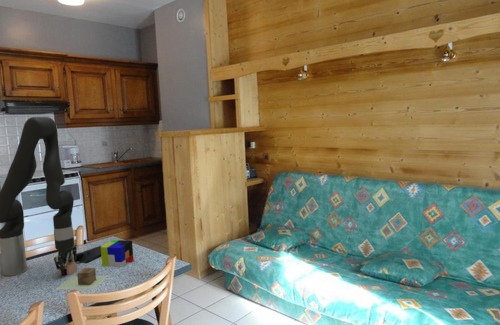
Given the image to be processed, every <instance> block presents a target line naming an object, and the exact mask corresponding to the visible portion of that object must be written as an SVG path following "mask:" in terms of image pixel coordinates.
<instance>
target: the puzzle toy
mask: <svg viewBox="0 0 500 325" xmlns="http://www.w3.org/2000/svg"><path fill="white" fill-rule="evenodd" d="M133 247H134V246H133V240H129V239H128V240H127V239H125V240H122V239H113V240H111V241H109V242H107V243H106V244H103V245H102V247H101V256H100V257H101V266H102V267H124V266H125V265H126V264H128V263H133V262H134V261H135V260H134V249H133Z"/></svg>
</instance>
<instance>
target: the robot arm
mask: <svg viewBox="0 0 500 325" xmlns="http://www.w3.org/2000/svg"><path fill="white" fill-rule="evenodd" d="M57 128H58V127H57V124H56V121H55V120H54V119H52V118H51V117H48V116H33V117H29V118H28V119H27V120H26V121H25V123H24V125H23V128H22V130H21V135H20V140H19V143H18V146H17V149H16V151H15V154H14V157H13V159H12V162H11V164H10V166H9V168H8V172H7V175H6V177H5V180H4V183H3V184H2V187H1V189H0V224H4V225H3V226H2V227H1V229H0V275H1V276H2V275H3V276H6V277H12V276H17V275H21V274H23V273H25V272H26V271H28V265H27V264H28V263H27V254H26V247H25V238H24V237H25V236H24V228H25V216H24V215H25V214H24V213H25V212H24V207H23V204H22V203H21V201H20V200H18V199H17V197H18V196H19V195H20V194H21V192H22V191H24V190H25V189H26V187H27V186H28V185H29V184H30V182H31V181H32V179H34V178H33V177H34V176H35V172H36V170H37V159H36V154H35V152H36V151H35V150H36V149H37V145H38V143H39V141H40V140H43V143H44V147H45V148H44V151H45V152H44V153H45V154H44V158H43V163H42V170H43V171H42V172H43V175H44V179H45V183H46V189H45V190H46V191H45V192H46V193H45V201H46V204H47V206H48V207H49V208H50V209H51V210H58V211H57V213H55V214H54V215H53V216H52V224H53V236H54V237H53V238H54V245H55V246H54V248H55V249H56V250H57V252H58V253H57V256H54V257H53V261H54V265H55V268H56V270H58V269H60V270H61V275H60V276H61V277H66V276H68V275H67V269H66V265H67V263H68V262H74V260H76V254H77V246H76V244H75V236H74V235H75V234H74V228H73V223H72V214H73V209H74V201H75V200H74V195H73V194H72V192H71V191H70V190H67V189H65V190H61V186H63V185H64V184H65V183H66V180H65V176H64V172H63V168H62V164H61V158H60V150H59V149H60V148H59V146H60V145H59V134H58V129H57ZM63 260H65V261H64V262H62V261H63ZM63 263H64V266H63Z"/></svg>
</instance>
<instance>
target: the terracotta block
mask: <svg viewBox="0 0 500 325" xmlns="http://www.w3.org/2000/svg"><path fill="white" fill-rule="evenodd" d="M76 265H77V264H76V262H68V263H67V265H66V269H67V275H66V276H71V275H72V274H73V273H74V272H76V271H77V266H76ZM63 266H64V263H63ZM57 270H58V275H59V276H61V270H60V269H57Z"/></svg>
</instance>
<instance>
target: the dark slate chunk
mask: <svg viewBox="0 0 500 325" xmlns="http://www.w3.org/2000/svg"><path fill="white" fill-rule="evenodd" d="M102 246H103V245H102ZM102 246H101V245H99V246H95V247H92V248H91V249H90V248H89V249H87V250H84V251H81V252H78V253H76V260H74V262H76V265H79V264H88V263H89V262H92V261H93V260H95V259H98V258H100V257H101V247H102ZM64 261H65V260H63V261H62V262H64Z"/></svg>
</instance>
